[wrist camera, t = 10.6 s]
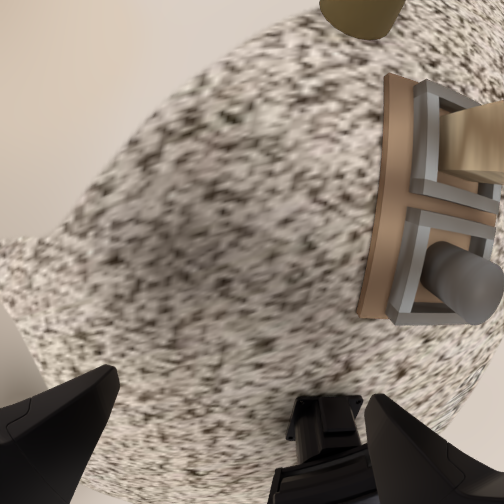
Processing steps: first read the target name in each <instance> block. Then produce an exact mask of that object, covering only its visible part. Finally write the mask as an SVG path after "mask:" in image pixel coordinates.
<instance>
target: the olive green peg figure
mask: <svg viewBox="0 0 504 504" xmlns="http://www.w3.org/2000/svg"><path fill="white" fill-rule="evenodd" d="M405 1H406V0H320V2H319V5H320V9H321V12H322V14H323V15H324V17H325V18H326V20H327V21H328V22H329V23H331V24H332V25H333V26H334V27H335V28H336V29H338V30H340V31H342V32H343V33H345V34H347V35H350V36H352V37H355V38H358V39H364V40H376V39H380V38H382V37H384V36H386V35H387V34H388V32H389V31H390V29H391V28H392V26H393V24H394V22H395V20H396V18H397V16H398V14H399V13H400V11H401V9H402V7H403V5H404V3H405Z"/></svg>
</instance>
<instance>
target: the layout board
mask: <svg viewBox="0 0 504 504" xmlns="http://www.w3.org/2000/svg"><path fill="white" fill-rule="evenodd" d="M477 106H481V104H479V103H477V102H476V101H474V100H472V99H470V98H468V97H466V96H464V95H462V94H460V93H458V92H455V91H453V90H451V89H449V88H447V87H444V86H442V85H440V84H438V83H435V82H433V81H430V80H428V79H425V80H424V81H422V82H420V83H418V82H416V81H413V80H410V79H407V78H404V77H401V76H398V75H395V74H392V73H388V74H387V75H386V76H384V125H383V144H382V158H381V170H380V180H379V189H378V198H377V206H376V213H375V220H374V226H373V233H372V239H371V245H370V250H369V256H368V261H367V266H366V271H365V276H364V280H363V285H362V290H361V294H360V298H359V302H358V307H357V311H356V313H357V314H358V316H359V317H360V318H374V319H390V320H391V321H392V322H393V324H394V325H456V324H471V325H479V324H481V323H483V322H485V321H486V320H487V319H489V318H490V317H491V316H492V314H493V313H494V312H495V310H496V309H497V307H498V305H499V303H500V301H501V298H502V296H503V292H504V273H503V271H502V269H501V267H500V266H498V265H497V264H495V263H493V262H491V261H490V257H491V253H492V248H493V243H494V238H495V232H496V227H495V221H496V214H497V215H498V212H499V204H500V195H501V185H498V184H489V183H479V182H470V181H467V180H464V179H461V178H458V177H455V176H452V175H449V174H446V173H443V172H439V171H438V158H439V117H440V116H444V115H447V114H451V113H454V112H458V111H462V110H465V109H469V108H473V107H477Z"/></svg>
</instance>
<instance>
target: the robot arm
mask: <svg viewBox="0 0 504 504" xmlns="http://www.w3.org/2000/svg"><path fill="white" fill-rule="evenodd" d="M119 389H120V382H119V377H118V373H117V369H116V368H115V367H114V366H111V365H107V364H105V365H102V366H100V367H98V368H96V369H94V370H91V371H89V372H87V373H85V374H83V375H81V376H78V377H76V378H74V379H72V380H69V381H67V382H65V383H63V384H60V385H58V386H56V387H54V388H51V389H49V390H47V391H45V392H42V393H40V394H38V395H35V396H33V397H32V398H28V399H25V400H23V401H21V402H18V403H15V404H13V405H9V406H6V407H3V408H0V504H70V501H71V499H72V497H73V495H74V492H75V490H76V487H77V485H78V483H79V481H80V479H81V476H82V474H83V472H84V470H85V468H86V466H87V463H88V461H89V459H90V457H91V455H92V453H93V451H94V449H95V447H96V444H97V442H98V440H99V438H100V436H101V434H102V432H103V430H104V428H105V426H106V424H107V422H108V419H109V417H110V414H111V411H112V408H113V405H114V403H115V400H116V397H117V395H118V392H119ZM300 401H303V402H300ZM362 403H363V398H362V397H361V396H342V397H306V396H301V397H298V398H297V399H296V401H295V404H294V408H293V411H292V415H291V419H290V422H289V426H288V429H287V432H286V440H289V441H296V452H297V465H295V466H290V467H286V468H282V467H281V468H277V469H275V474H274V477H273V481H272V485H271V490H270V494H269V498H268V503H267V504H504V472H499V471H496V470H494V469H492V468H490V467H488V466H486V465H485V464H483V463H481V462H479V461H477V460H475V459H473V458H472V457H470V456H468V455H467V454H465V453H463V452H462V451H460V450H459V449H457V448H456V447H455V446H453V445H452V444H450V443H449V442H448V443H447V441H446V440H445V439H443V438H442V437H441V436H439V435H438V434H437V433H435V432H434V431H432V430H431V429H430V428H428V427H427V426H426V425H424V424H423V423H422V422H420V421H419V420H418V419H416V418H415V417H414V416H412V415H411V414H410V413H408V412H407V411H406V410H404V409H403V408H402V407H400V406H399V405H398V404H397V403H395V402H394V401H393V400H391V399H390V398H389V397H387V396H386V395H385V394H373V395H372V396H371V398H370V400H369V402H368V404H367V407H366V409H365V412H364V417H365V425H366V434H367V443H366V444H363V445H362V444H361V441H360V437H359V434H358V431H357V426H356V423H355V418H356V416H357V414H358V412H359V410H360V408H361V406H362Z"/></svg>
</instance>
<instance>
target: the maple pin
mask: <svg viewBox="0 0 504 504" xmlns="http://www.w3.org/2000/svg"><path fill="white" fill-rule="evenodd" d="M438 171H439V172H443V173H446V174H449V175H452V176H455V177H458V178H461V179H464V180H467V181H470V182H479V183H489V184H498V185H504V100H501V101H497V102H493V103H489V104H485V105H481V106H477V107H473V108H469V109H465V110H462V111H458V112H454V113H451V114H447V115H444V116H440V117H439V158H438Z"/></svg>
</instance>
